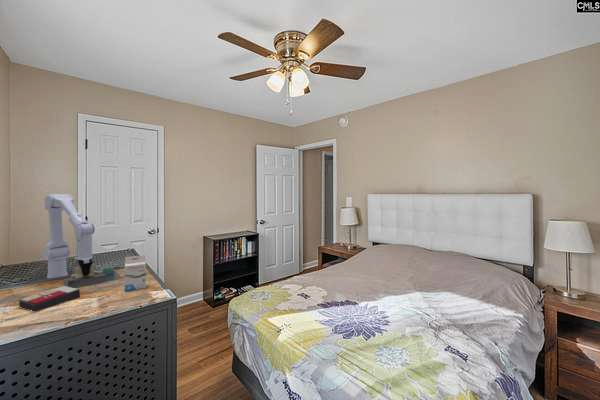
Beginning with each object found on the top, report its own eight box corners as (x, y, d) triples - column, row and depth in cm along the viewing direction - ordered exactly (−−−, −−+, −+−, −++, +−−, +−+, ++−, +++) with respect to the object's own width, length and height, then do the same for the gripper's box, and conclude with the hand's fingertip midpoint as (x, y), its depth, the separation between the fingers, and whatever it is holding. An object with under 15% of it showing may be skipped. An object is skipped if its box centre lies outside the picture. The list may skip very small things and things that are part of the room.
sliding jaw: (71, 279, 133) (71, 272, 133) (113, 272, 146) (113, 265, 145) (71, 280, 131) (71, 273, 131) (114, 273, 143) (114, 266, 143)
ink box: (124, 291, 118) (124, 259, 118) (124, 288, 123) (124, 257, 122) (146, 288, 123) (146, 256, 123) (145, 284, 127) (145, 254, 127)
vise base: (63, 280, 134) (63, 272, 133) (115, 271, 149) (115, 264, 149) (65, 290, 120) (64, 282, 120) (122, 279, 135) (122, 272, 135)
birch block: (75, 279, 131) (74, 268, 130) (93, 276, 135) (92, 265, 135) (75, 281, 128) (75, 269, 128) (94, 278, 133) (93, 266, 132)
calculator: (18, 298, 102) (64, 284, 116) (19, 309, 102) (65, 293, 116) (34, 303, 98) (79, 287, 112) (35, 314, 98) (80, 297, 112)
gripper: (73, 246, 134) (73, 273, 134) (75, 251, 123) (76, 279, 124) (90, 244, 139) (91, 270, 139) (94, 249, 128) (95, 276, 129)
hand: (85, 274), depth 132 cm, fingers closed on birch block, 4 cm apart
